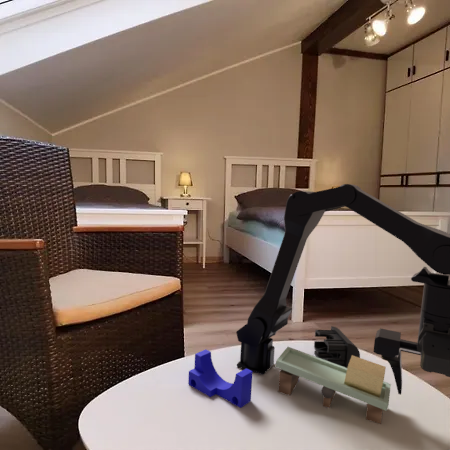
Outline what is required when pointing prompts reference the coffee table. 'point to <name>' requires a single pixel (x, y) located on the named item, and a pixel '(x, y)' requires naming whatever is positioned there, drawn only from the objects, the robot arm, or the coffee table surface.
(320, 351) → the end cap
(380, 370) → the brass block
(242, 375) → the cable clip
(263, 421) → the coffee table surface
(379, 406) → the green rimmed tray
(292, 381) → the beam stand
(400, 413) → the coffee table surface
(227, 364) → the coffee table surface
